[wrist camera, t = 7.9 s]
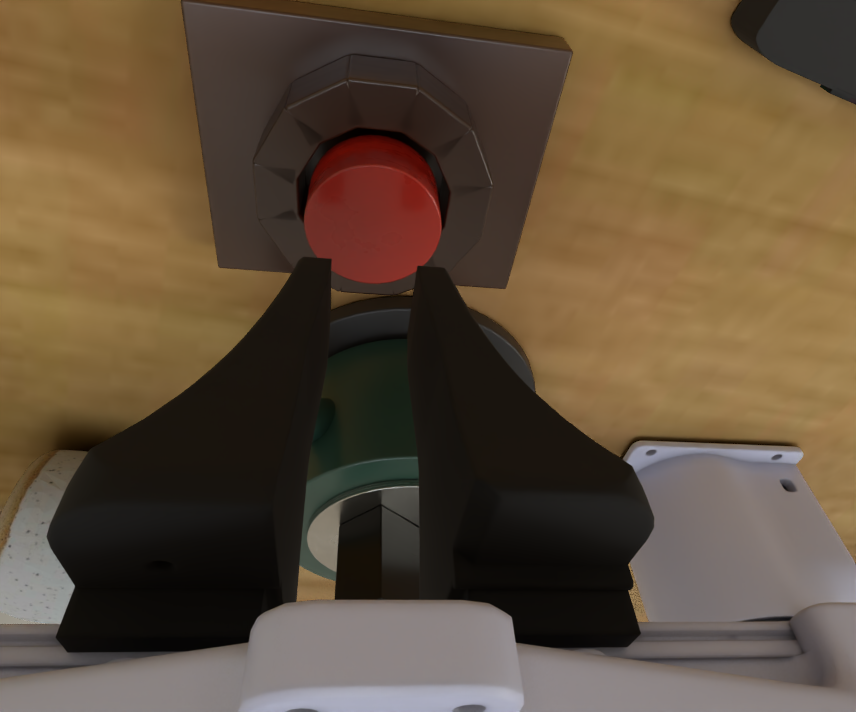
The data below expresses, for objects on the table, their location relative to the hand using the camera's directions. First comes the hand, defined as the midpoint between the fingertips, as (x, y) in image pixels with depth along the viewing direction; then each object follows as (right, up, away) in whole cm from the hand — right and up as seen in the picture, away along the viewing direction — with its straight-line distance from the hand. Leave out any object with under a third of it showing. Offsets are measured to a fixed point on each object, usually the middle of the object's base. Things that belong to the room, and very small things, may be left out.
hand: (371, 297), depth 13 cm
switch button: (0, +3, +3) cm, 5 cm away
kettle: (0, -4, +12) cm, 13 cm away
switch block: (0, +5, +5) cm, 7 cm away
